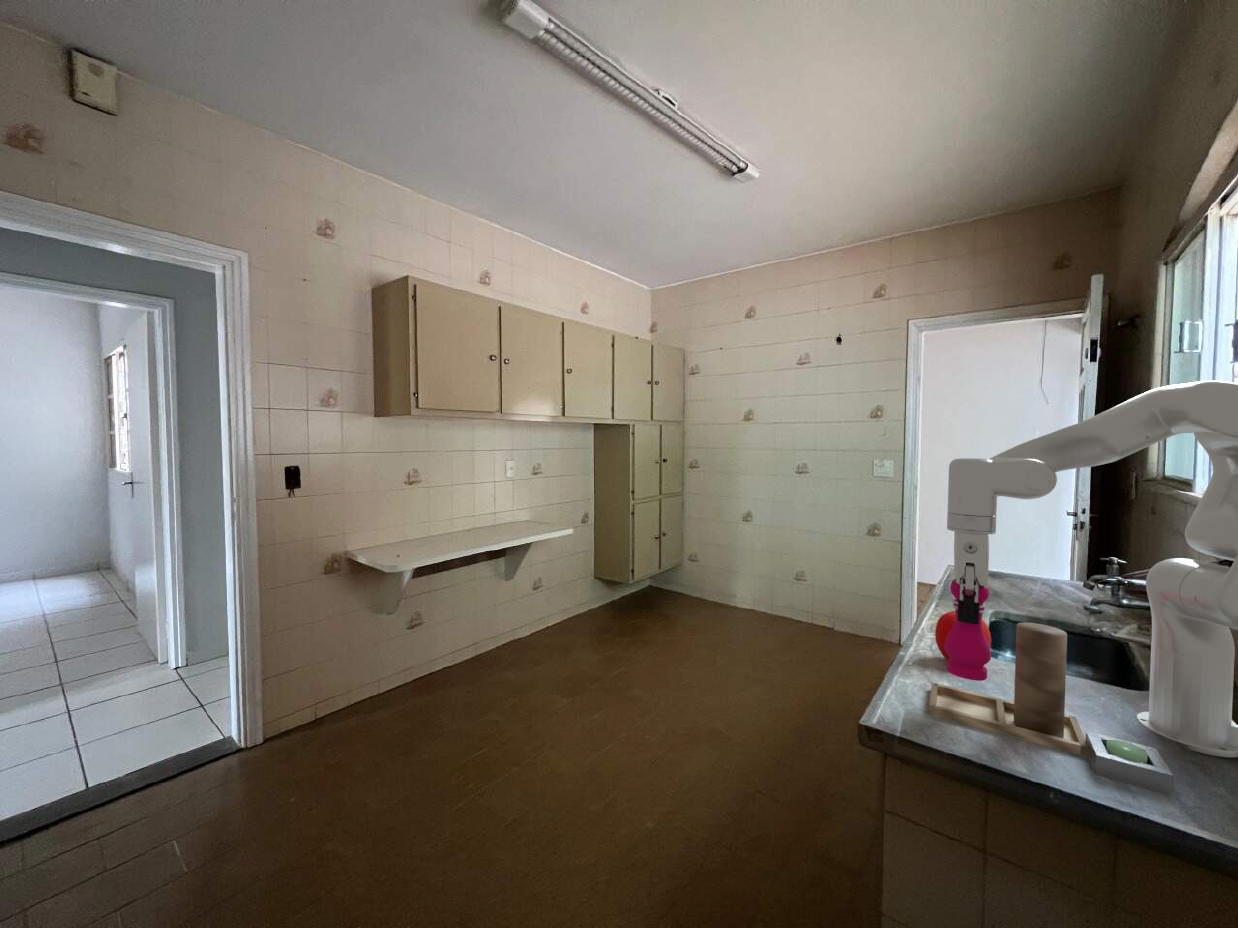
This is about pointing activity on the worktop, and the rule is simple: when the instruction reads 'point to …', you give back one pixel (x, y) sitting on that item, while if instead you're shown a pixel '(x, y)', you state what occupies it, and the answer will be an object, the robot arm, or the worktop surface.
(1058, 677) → the seated billet
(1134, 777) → the button box
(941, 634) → the tomato
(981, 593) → the pepper mill
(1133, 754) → the button
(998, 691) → the worktop surface
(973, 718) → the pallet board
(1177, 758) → the worktop surface
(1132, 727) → the worktop surface
